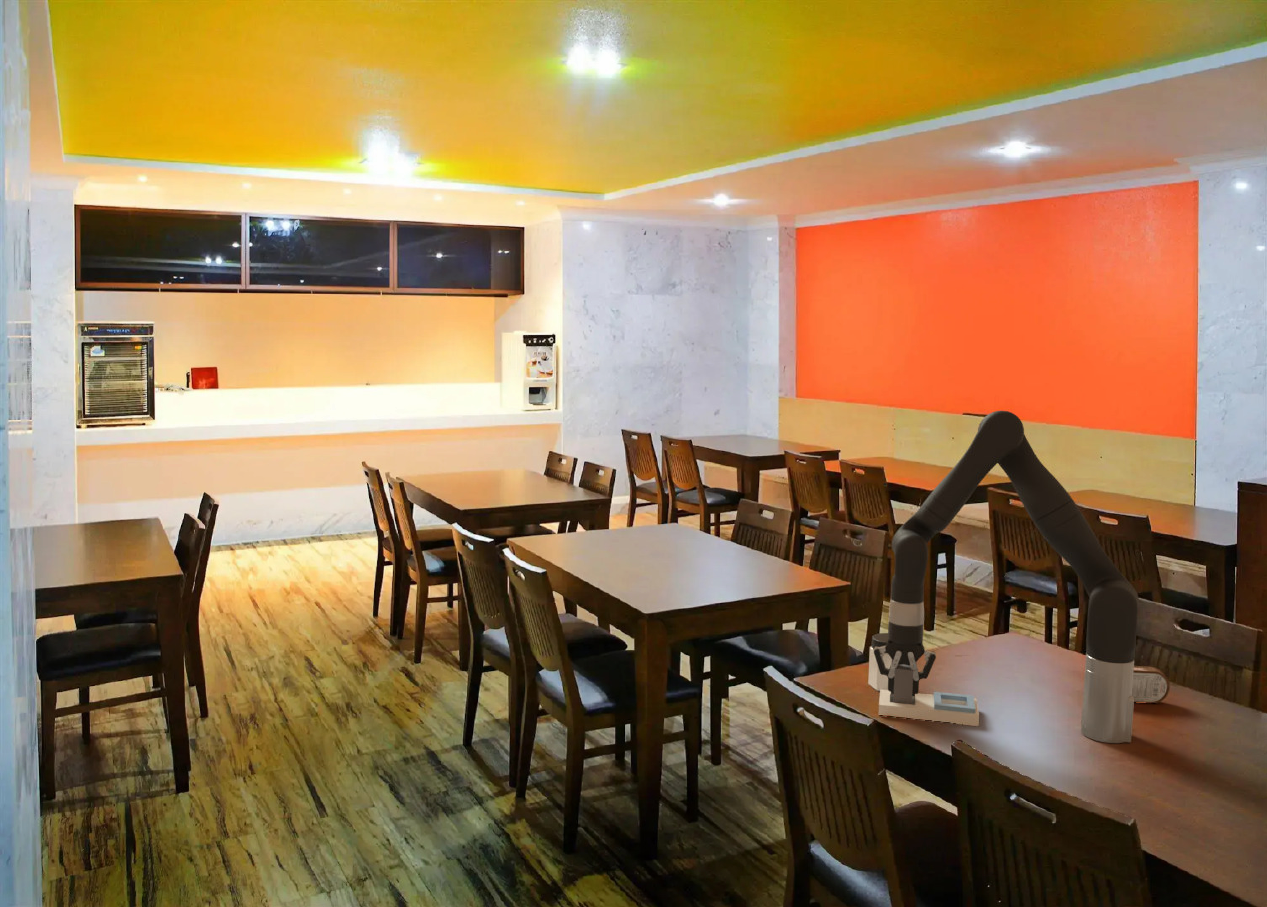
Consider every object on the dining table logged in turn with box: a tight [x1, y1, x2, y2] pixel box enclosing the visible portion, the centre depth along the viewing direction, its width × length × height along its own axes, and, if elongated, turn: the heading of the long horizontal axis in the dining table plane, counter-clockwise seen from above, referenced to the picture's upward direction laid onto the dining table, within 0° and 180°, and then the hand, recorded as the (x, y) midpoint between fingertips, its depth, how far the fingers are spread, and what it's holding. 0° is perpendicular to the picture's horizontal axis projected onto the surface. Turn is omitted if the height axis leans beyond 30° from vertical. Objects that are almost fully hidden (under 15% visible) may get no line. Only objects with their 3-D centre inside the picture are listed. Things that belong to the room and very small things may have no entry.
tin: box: [1132, 665, 1171, 704], centre depth 235 cm, size 15×3×8 cm, turn 84°
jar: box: [868, 632, 892, 692], centre depth 244 cm, size 9×8×12 cm
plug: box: [893, 664, 913, 704], centre depth 229 cm, size 4×4×10 cm
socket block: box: [878, 689, 980, 727], centre depth 228 cm, size 21×10×4 cm, turn 75°
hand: (902, 693), depth 229 cm, fingers closed on plug, 4 cm apart
